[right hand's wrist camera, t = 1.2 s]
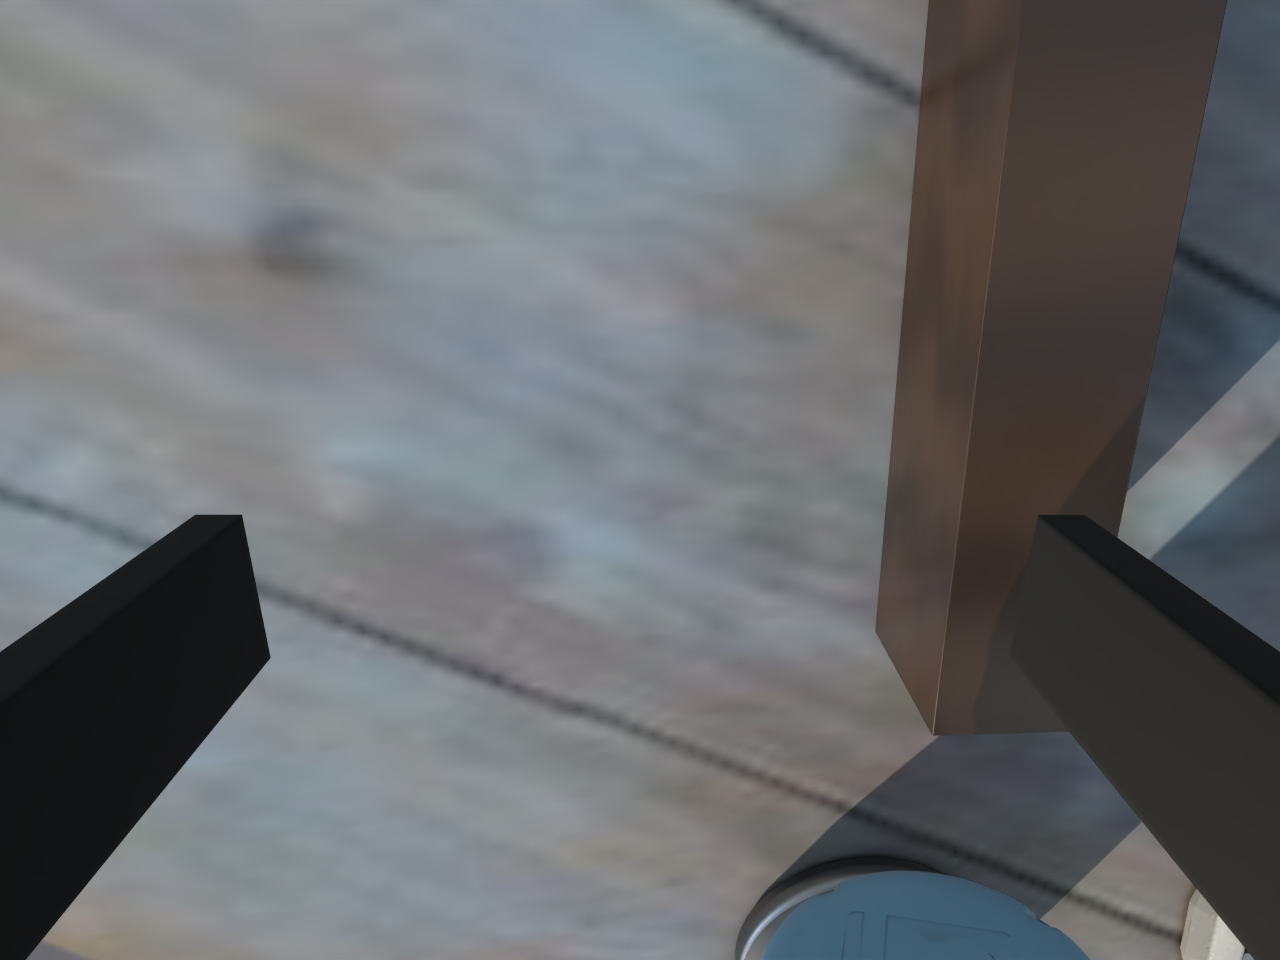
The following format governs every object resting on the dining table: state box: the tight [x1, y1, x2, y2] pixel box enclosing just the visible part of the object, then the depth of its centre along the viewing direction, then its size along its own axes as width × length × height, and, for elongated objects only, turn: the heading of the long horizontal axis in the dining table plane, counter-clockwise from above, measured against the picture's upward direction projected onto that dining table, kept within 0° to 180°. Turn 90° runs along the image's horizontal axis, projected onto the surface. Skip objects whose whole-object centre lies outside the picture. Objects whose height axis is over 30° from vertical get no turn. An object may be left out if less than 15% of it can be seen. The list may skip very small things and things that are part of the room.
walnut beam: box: [876, 0, 1227, 736], centre depth 29 cm, size 32×6×8 cm, turn 2°
